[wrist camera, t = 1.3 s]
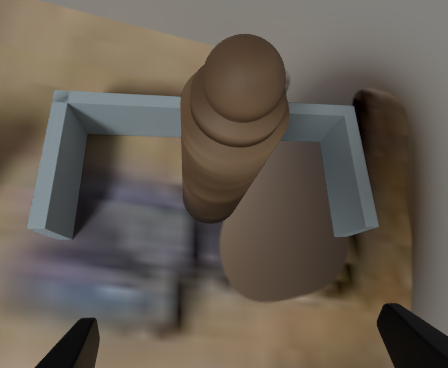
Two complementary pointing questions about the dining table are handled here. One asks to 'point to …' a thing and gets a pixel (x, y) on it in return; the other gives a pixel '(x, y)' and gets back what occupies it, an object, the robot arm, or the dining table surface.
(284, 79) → the pepper mill
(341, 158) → the bracket
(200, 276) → the dining table surface
